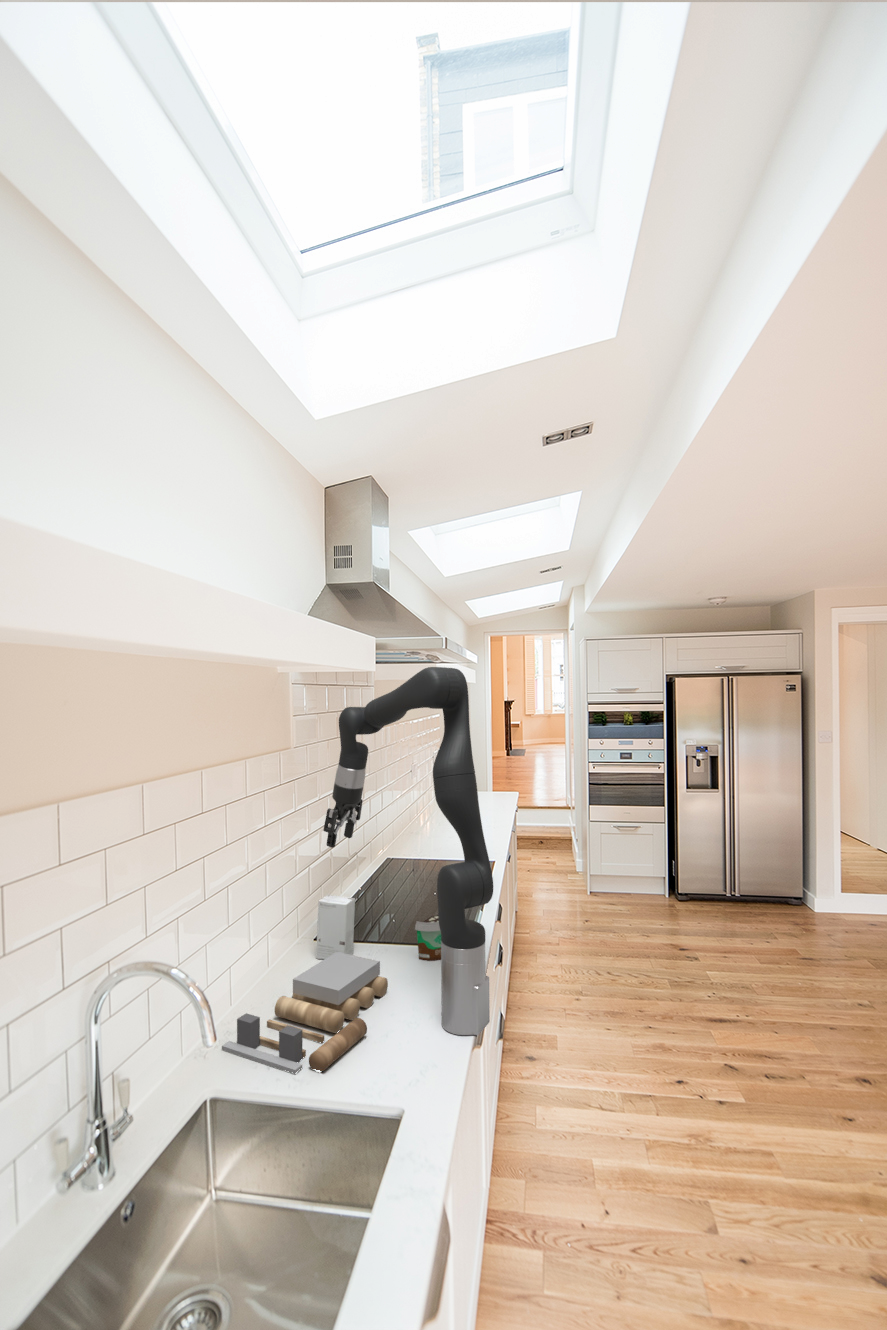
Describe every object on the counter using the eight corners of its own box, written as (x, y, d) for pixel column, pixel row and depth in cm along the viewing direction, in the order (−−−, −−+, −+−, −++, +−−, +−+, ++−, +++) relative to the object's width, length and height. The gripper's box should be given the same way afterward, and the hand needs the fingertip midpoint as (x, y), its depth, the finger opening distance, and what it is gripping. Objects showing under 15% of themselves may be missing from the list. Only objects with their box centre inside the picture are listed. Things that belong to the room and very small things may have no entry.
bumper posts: (310, 1061, 125) (310, 1032, 125) (295, 1074, 121) (295, 1044, 121) (238, 1038, 133) (238, 1010, 134) (221, 1050, 129) (221, 1021, 130)
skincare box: (315, 959, 171) (315, 900, 171) (326, 950, 177) (326, 893, 177) (346, 963, 169) (345, 903, 169) (355, 953, 175) (355, 896, 175)
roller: (352, 1034, 136) (351, 1016, 136) (367, 1037, 134) (366, 1019, 134) (309, 1071, 123) (308, 1051, 123) (325, 1074, 121) (324, 1054, 122)
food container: (434, 967, 166) (434, 927, 166) (415, 961, 170) (414, 921, 170) (463, 951, 176) (462, 913, 176) (444, 945, 179) (444, 908, 180)
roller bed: (387, 992, 153) (387, 974, 153) (305, 1059, 126) (305, 1037, 126) (334, 979, 160) (334, 962, 160) (245, 1040, 133) (245, 1019, 133)
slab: (379, 974, 153) (379, 961, 153) (338, 1005, 138) (338, 990, 138) (336, 964, 158) (336, 951, 158) (292, 993, 144) (292, 979, 144)
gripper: (347, 792, 164) (337, 854, 166) (375, 780, 177) (365, 838, 179) (321, 784, 167) (311, 845, 169) (351, 773, 180) (341, 829, 182)
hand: (339, 841), depth 174 cm, fingers open, 8 cm apart
